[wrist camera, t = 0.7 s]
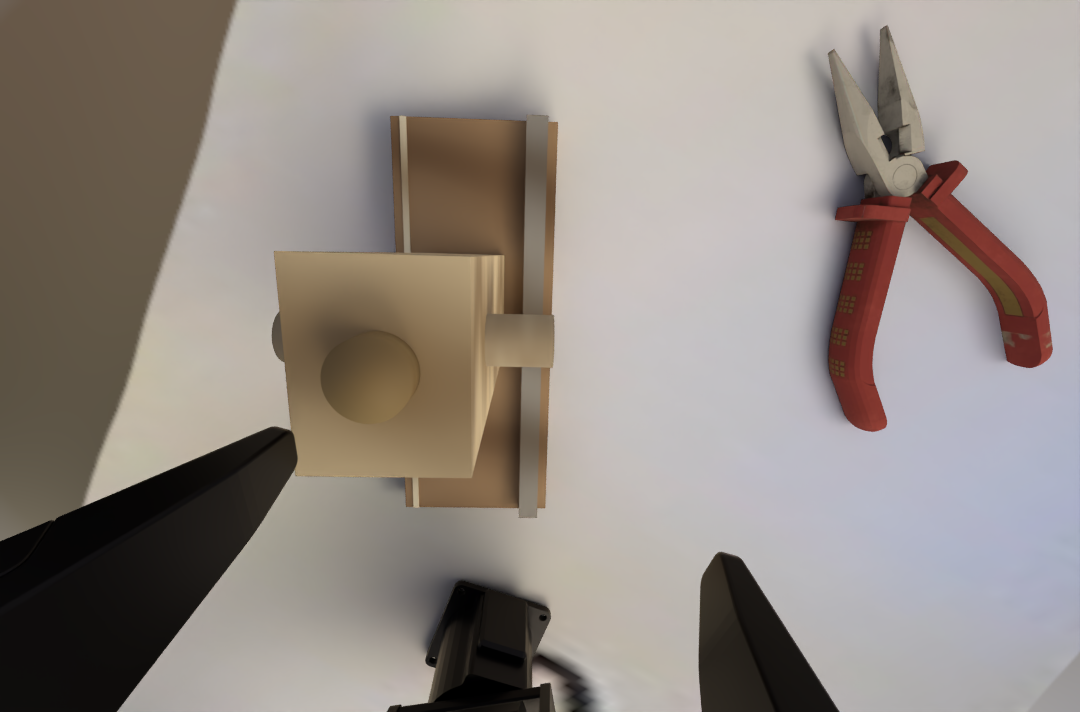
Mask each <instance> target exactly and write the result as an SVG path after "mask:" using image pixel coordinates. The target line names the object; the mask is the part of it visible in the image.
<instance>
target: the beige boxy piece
mask: <svg viewBox="0 0 1080 712" xmlns="http://www.w3.org/2000/svg"><path fill="white" fill-rule="evenodd" d="M274 258H275V269H276V279H277V289H278V300H279V310H280V312H279V313H278V314H277V316H276V317H275V320H274V323H273V327H272V343H273V348H274V351H275V353H276V355H277V357H278V358H279V359H280V360H281V361H283V362H285V372H286V382H287V393H288V403H289V413H290V424H291V431H292V432H293V434H294V436H295V443H296V449H297V455H298V462H297V465H296V468H295V475H296V476H329V477H407V478H472V475H473V471H474V467H475V463H476V459H477V455H478V451H479V447H480V443H481V439H482V435H483V431H484V427H485V423H486V419H487V415H488V411H489V407H490V403H491V399H492V395H493V391H494V387H495V383H496V379H497V375H498V371H499V367H546V368H552V367H553V358H554V315H525V314H504V255H482V254H447V253H389V252H295V251H274Z"/></svg>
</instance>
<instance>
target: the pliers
mask: <svg viewBox="0 0 1080 712" xmlns="http://www.w3.org/2000/svg"><path fill="white" fill-rule="evenodd" d="M828 57H829V62H830V68H831V73H832V79H833V84H834V90H835V96H836V101H837V107H838V112H839V118H840V123H841V129H842V134H843V140H844V145H845V149H846V152H847V154H848V157H849V160H850V162H851V165H852V167H853V169H854V171H855V173H856V175H863V174H866V176H865V179H864V193H865V199H862V200H861V203H860V205H853V206H846V207H839V208H838V209H837V213H836V218H835V220H841V221H850V222H857V225H856V229H855V233H854V238H853V242H852V246H851V250H850V254H849V259H848V263H847V267H846V271H845V275H844V280H843V284H842V288H841V292H840V296H839V301H838V305H837V309H836V313H835V317H834V322H833V326H832V330H831V336H830V344H829V359H828V362H829V371H830V376H831V378H832V381H833V384H834V386H835V389H836V392H837V395H838V397H839V400H840V403H841V406H842V408H843V411H844V414H845V416H846V418H847V419H848V420H849V421H850V423H852V424H853V425H854V426H855V427H857V428H859V429H862V430H865V431H871V432H875V431H879V430H882V429H884V428H885V427H886V425H887V419H886V415H885V412H884V409H883V406H882V403H881V400H880V397H879V394H878V391H877V388H876V385H875V383H874V378H873V369H872V359H873V349H874V343H875V337H876V334H877V330H878V326H879V322H880V318H881V315H882V311H883V307H884V303H885V299H886V295H887V292H888V288H889V284H890V280H891V276H892V273H893V269H894V265H895V261H896V257H897V253H898V250H899V246H900V242H901V238H902V234H903V231H904V227H905V223H906V222H908V219H909V215H910V216H911V217H912V218H914V219H915V220H916V221H917V222H918V223H919V224H920V225H921V226H922V227H923V228H924V229H926V230H927V231H928V232H929V233H930V234H931V235H932V236H933V237H934V238H935V239H936V240H938V241H939V242H940V243H941V244H942V245H943V246H944V247H945V248H946V249H947V250H948V251H950V252H951V253H952V254H953V255H954V256H955V257H956V258H957V259H958V260H959V261H960V262H961V263H963V264H964V265H965V266H966V267H967V268H968V269H969V270H970V271H971V272H972V273H973V274H975V275H976V276H977V277H978V278H979V279H980V281H981V282H982V283H983V284H984V285H985V287H986V288H987V289H988V291H989V292H990V294H991V296H992V297H993V300H994V302H995V304H996V307H997V311H998V314H999V320H1000V325H1001V331H1002V337H1003V342H1004V347H1005V353H1006V358H1007V361H1008V362H1010V363H1012V364H1014V365H1017V366H1021V367H1026V368H1033V367H1036V366H1039V365H1041V364H1043V363H1044V362H1046V361H1047V360H1048V359H1049V358H1050V356H1051V354H1052V350H1053V348H1052V340H1051V332H1050V324H1049V316H1048V309H1047V301H1046V298H1045V295H1044V293H1043V290H1042V288H1041V286H1040V284H1039V283H1038V281H1037V279H1036V278H1035V277H1034V275H1033V274H1032V272H1031V271H1030V270H1029V269H1028V267H1027V266H1026V265H1025V264H1024V263H1023V262H1022V261H1021V260H1020V259H1019V258H1018V257H1017V256H1016V255H1015V254H1014V253H1013V252H1012V251H1011V250H1010V249H1009V248H1007V247H1006V246H1005V245H1004V244H1003V243H1002V242H1001V241H1000V240H999V239H998V238H997V237H996V236H995V235H994V234H993V233H992V232H991V231H990V230H988V229H987V228H986V227H985V226H984V225H983V224H982V223H981V222H980V221H979V220H978V219H977V218H976V217H975V216H974V215H973V214H972V213H971V212H970V211H968V210H967V209H966V208H965V207H964V206H963V205H962V204H961V203H960V202H959V201H958V200H957V199H956V198H955V197H954V196H953V195H952V194H951V193H952V192H953V190H954V189H955V188H956V187H957V186H958V185H959V183H960V182H961V181H962V180H963V179H964V178H965V176H966V175H967V172H968V170H967V169H966V168H965V167H964V166H963V165H962V164H961V163H960V162H959V161H950V162H945V163H940V164H935V165H931V166H929V168H928V169H927V170H926V171H925V169H924V167H923V164H922V162H921V161H920V160H919V159H918V158H916V157H914V156H911V155H912V154H915V153H919V152H922V151H925V147H924V137H923V130H922V125H921V119H920V115H919V112H918V109H917V107H916V104H915V101H914V98H913V95H912V92H911V90H910V87H909V84H908V81H907V78H906V76H905V73H904V70H903V67H902V64H901V62H900V59H899V56H898V53H897V50H896V47H895V45H894V42H893V39H892V36H891V33H890V31H889V28H888V25H887V26H885V27H883V28H882V29H880V56H879V85H878V120H877V117H876V115H875V113H874V111H873V110H872V108H871V107H870V105H869V103H868V102H867V100H866V99H865V97H864V95H863V94H862V92H861V91H860V89H859V88H858V86H857V84H856V83H855V81H854V80H853V78H852V76H851V75H850V73H849V72H848V70H847V69H846V67H845V65H844V64H843V62H842V61H841V59H840V57H839V56H838V54H837V53H836V51H835V50H834V49H833V50H832V51H830V52H829V53H828ZM878 121H879V122H878ZM882 135H886V136H888V137H889V138H890V139H891V142H892V149H891V152H890V154H888V152H887V150H886V148H885V146H884V143H883V141H882V139H881V136H882Z"/></svg>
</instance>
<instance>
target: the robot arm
mask: <svg viewBox="0 0 1080 712" xmlns="http://www.w3.org/2000/svg"><path fill="white" fill-rule="evenodd" d="M297 462H298V455H297V449H296V443H295V436H294V434H293V432H292V431H290V430H287V429H283V428H280V427H269V428H267V429H264V430H262V431H260V432H257V433H255V434H253V435H250V436H248V437H246V438H243V439H241V440H239V441H236V442H234V443H231V444H229V445H227V446H224V447H222V448H220V449H217V450H215V451H213V452H210V453H208V454H206V455H203V456H201V457H199V458H196V459H194V460H192V461H189V462H187V463H184V464H182V465H180V466H177V467H175V468H173V469H170V470H168V471H166V472H163V473H161V474H159V475H156V476H154V477H152V478H149V479H147V480H144V481H142V482H140V483H137V484H135V485H133V486H130V487H128V488H126V489H123V490H121V491H119V492H116V493H114V494H112V495H109V496H107V497H104V498H102V499H100V500H97V501H95V502H93V503H90V504H88V505H86V506H83V507H81V508H79V509H76V510H74V511H72V512H69V513H67V514H64V515H62V516H60V517H58V518H56V520H55V521H54V520H51V521H48V522H45V523H43V524H41V525H39V526H36V527H34V528H31V529H29V530H27V531H24V532H22V533H19V534H17V535H15V536H12V537H10V538H7V539H5V540H2V541H0V712H117V711H118V709H119V708H120V707H121V706H122V704H123V703H124V702H125V700H126V699H127V698H128V697H129V695H130V694H131V693H132V691H133V690H134V689H135V687H136V686H137V685H138V684H139V682H140V681H141V680H142V678H143V677H144V676H145V675H146V673H147V672H148V671H149V669H150V668H151V667H152V665H153V664H154V663H155V662H156V660H157V659H158V658H159V656H160V655H161V654H162V653H163V651H164V650H165V649H166V647H167V646H168V645H169V643H170V642H171V641H172V640H173V638H174V637H175V636H176V634H177V633H178V632H179V630H180V629H181V628H182V627H183V625H184V624H185V623H186V621H187V620H188V619H189V618H190V616H191V615H192V614H193V612H194V611H195V610H196V608H197V607H198V606H199V605H200V603H201V602H202V601H203V599H204V598H205V597H206V596H207V594H208V593H209V592H210V590H211V589H212V588H213V586H214V585H215V584H216V583H217V581H218V580H219V579H220V577H221V576H222V575H223V574H224V572H225V571H226V570H227V568H228V567H229V566H230V564H231V563H232V562H233V561H234V559H235V558H236V557H237V555H238V554H239V553H240V552H241V550H242V549H243V548H244V546H245V545H246V544H247V542H248V541H249V540H250V538H251V537H252V536H253V534H254V533H255V531H256V530H257V528H258V527H259V525H260V524H261V522H262V521H263V519H264V518H265V516H266V514H267V513H268V511H269V510H270V508H271V506H272V505H273V503H274V502H275V500H276V498H277V497H278V495H279V494H280V492H281V490H282V489H283V487H284V486H285V484H286V482H287V481H288V479H289V478H290V476H291V474H292V473H293V471H294V470H295V468H296V465H297ZM460 588H462V589H464V591H461V590H459V589H460ZM542 614H544V615H545V616H540V615H542ZM550 619H551V613H550V610H549V609H548V608H547V607H545V606H542V605H538V604H535V603H532V602H529V601H526V600H523V599H520V598H517V597H513V596H510V595H507V594H504V593H501V592H498V591H495V590H491V589H488V588H485V587H482V586H479V585H476V584H473V583H470V582H466V581H458V582H457V583H456V584H455V586H454V588H453V591H452V593H451V596H450V598H449V600H448V603H447V605H446V608H445V610H444V613H443V615H442V618H441V620H440V623H439V625H438V627H437V630H436V632H435V635H434V637H433V640H432V642H431V645H430V647H429V649H428V652H427V655H426V660H425V661H426V664H427V665H429V666H431V667H434V668H436V669H435V674H434V678H433V682H432V687H431V691H430V696H429V700H428V703H424V704H417V705H410V706H403V707H402V706H401V705H394V706H390V707H389V709H388V711H387V712H555V706H554V701H553V695H552V689H551V684H550V683H545V684H540V687H534V688H532V658H533V656H534V654H535V652H536V650H537V647H538V645H539V643H540V641H541V639H542V637H543V634H544V632H545V630H546V628H547V626H548V624H549V622H550ZM432 657H435V658H432ZM699 682H700V695H701V707H702V712H839V710H838V709H837V707H836V705H835V704H834V702H833V701H832V699H831V698H830V696H829V694H828V693H827V691H826V690H825V688H824V687H823V685H822V684H821V682H820V680H819V679H818V677H817V676H816V674H815V673H814V671H813V670H812V668H811V666H810V665H809V663H808V662H807V660H806V659H805V657H804V655H803V654H802V652H801V651H800V649H799V648H798V646H797V645H796V643H795V641H794V640H793V638H792V637H791V635H790V634H789V632H788V630H787V629H786V627H785V626H784V624H783V623H782V621H781V620H780V618H779V616H778V615H777V613H776V612H775V610H774V609H773V607H772V605H771V604H770V602H769V601H768V599H767V598H766V596H765V595H764V593H763V591H762V590H761V588H760V587H759V585H758V584H757V582H756V580H755V579H754V577H753V576H752V574H751V573H750V571H749V570H748V568H747V566H746V565H745V563H744V562H743V560H742V559H741V558H739V557H738V556H735V555H731V554H728V553H724V552H718V553H717V554H716V555H715V556H714V558H713V560H712V561H711V563H710V564H709V566H708V567H707V569H706V571H705V572H704V574H703V576H702V580H701V586H700V623H699Z"/></svg>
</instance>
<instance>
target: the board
mask: <svg viewBox="0 0 1080 712" xmlns="http://www.w3.org/2000/svg"><path fill="white" fill-rule="evenodd" d="M390 119H391V144H392V169H393V194H394V219H395V244H396V253H447V254H482V255H504V314H525V315H552V285H553V255H554V225H555V195H556V165H557V134H558V122H548V116H544V115H527V121H512V120H485V119H459V118H432V117H406V116H390ZM549 376H550V368H546V367H499V371H498V375H497V379H496V383H495V387H494V391H493V395H492V399H491V403H490V407H489V411H488V415H487V419H486V423H485V427H484V431H483V435H482V439H481V443H480V447H479V451H478V455H477V459H476V463H475V467H474V471H473V475H472V478H407V477H405V493H406V507H413V508H419V507H477V508H519V518H537V508H545V497H546V467H547V436H548V406H549Z"/></svg>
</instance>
